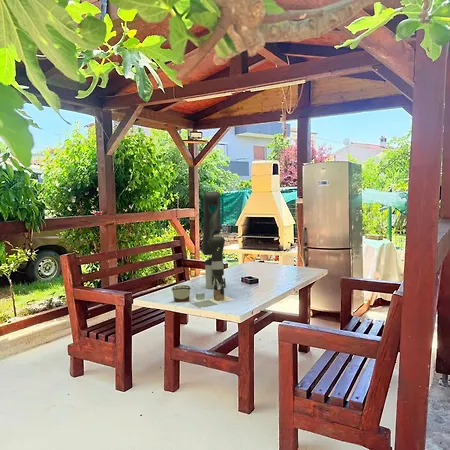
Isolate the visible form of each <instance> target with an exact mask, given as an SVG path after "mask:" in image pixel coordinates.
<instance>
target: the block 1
mask: <svg viewBox="0 0 450 450" xmlns="http://www.w3.org/2000/svg"><path fill="white" fill-rule="evenodd" d="M195 298H196V299H197V300H203V299H205V298H206V296H205V292H202V291H200V292H196V293H195Z"/></svg>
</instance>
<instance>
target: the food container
mask: <svg viewBox="0 0 450 450" xmlns="http://www.w3.org/2000/svg"><path fill="white" fill-rule="evenodd" d="M171 291H172V295H173V301H174V302H176V303H188V302H190V297H191V296H190V295H191V294H190V292H191V286H190V285H188V284H187V285H186V284H178V285H175V286H172V287H171Z"/></svg>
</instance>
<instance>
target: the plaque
mask: <svg viewBox="0 0 450 450" xmlns="http://www.w3.org/2000/svg"><path fill="white" fill-rule="evenodd" d="M206 299H208V298H206V297H205V299H203V300H197V299H196V297H195V298H192V300H194V301H195V302H200V301H205V300H206Z"/></svg>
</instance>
